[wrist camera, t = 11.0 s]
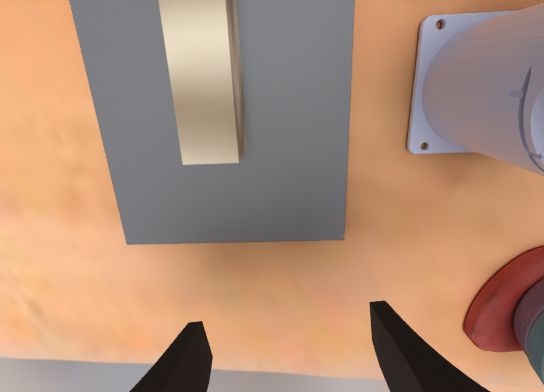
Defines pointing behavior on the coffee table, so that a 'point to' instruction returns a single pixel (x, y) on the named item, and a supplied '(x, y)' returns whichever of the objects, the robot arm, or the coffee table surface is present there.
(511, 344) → the stacking bear
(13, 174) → the coffee table surface
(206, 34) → the slat
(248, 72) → the board
